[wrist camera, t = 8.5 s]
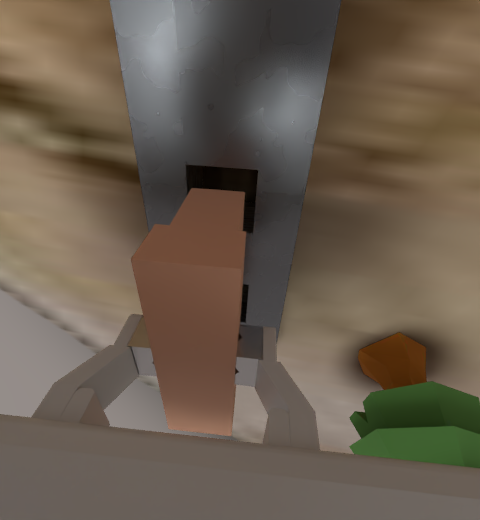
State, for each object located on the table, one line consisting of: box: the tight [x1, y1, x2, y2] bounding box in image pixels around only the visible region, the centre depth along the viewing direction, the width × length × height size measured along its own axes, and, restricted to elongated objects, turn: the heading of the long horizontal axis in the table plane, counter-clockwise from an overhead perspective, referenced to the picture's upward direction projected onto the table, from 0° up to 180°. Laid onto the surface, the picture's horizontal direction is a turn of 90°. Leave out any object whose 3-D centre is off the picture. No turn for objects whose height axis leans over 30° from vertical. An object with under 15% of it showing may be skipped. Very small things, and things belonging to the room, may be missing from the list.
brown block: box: [131, 188, 246, 436], centre depth 13 cm, size 10×3×6 cm, turn 177°
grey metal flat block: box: [110, 0, 341, 343], centre depth 18 cm, size 24×8×4 cm, turn 177°
